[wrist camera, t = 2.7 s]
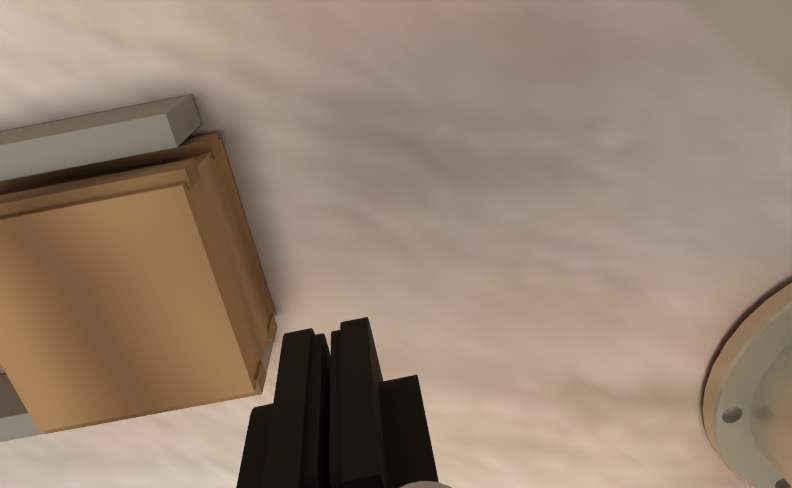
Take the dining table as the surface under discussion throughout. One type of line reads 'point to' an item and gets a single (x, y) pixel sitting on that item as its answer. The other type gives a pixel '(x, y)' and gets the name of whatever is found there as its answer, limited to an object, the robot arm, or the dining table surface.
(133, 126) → the frame
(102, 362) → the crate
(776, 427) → the robot arm
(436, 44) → the dining table surface
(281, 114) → the dining table surface
